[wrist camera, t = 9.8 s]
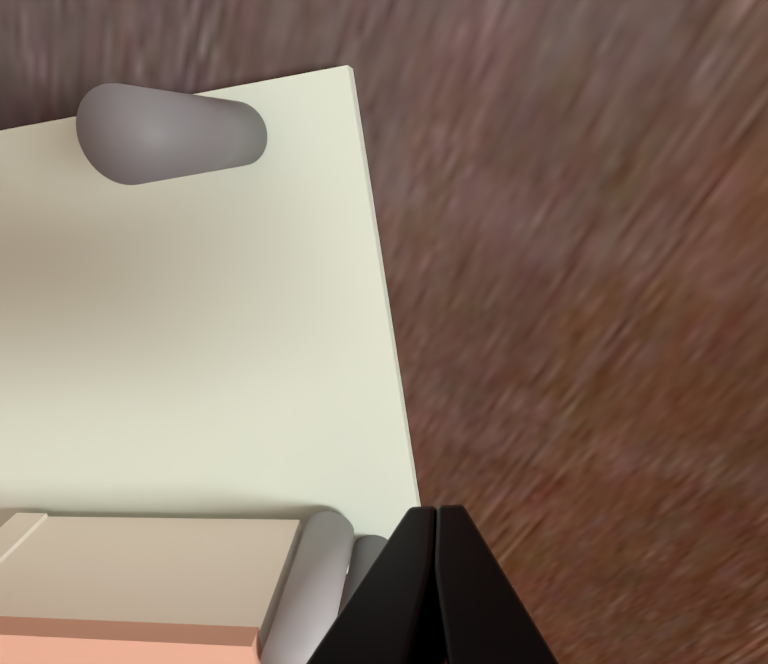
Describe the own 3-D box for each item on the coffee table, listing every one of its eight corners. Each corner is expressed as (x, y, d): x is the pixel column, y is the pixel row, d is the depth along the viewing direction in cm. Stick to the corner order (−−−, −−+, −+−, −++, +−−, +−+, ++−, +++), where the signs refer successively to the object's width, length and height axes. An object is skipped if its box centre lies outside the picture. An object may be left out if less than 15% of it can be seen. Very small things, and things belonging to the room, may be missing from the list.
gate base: (428, 555, 24) (423, 730, 17) (30, 567, 27) (-110, 716, 20) (352, 68, 16) (287, 22, 9) (-187, 169, 20) (-529, 190, 13)
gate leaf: (351, 511, 21) (320, 643, 16) (356, 549, 22) (329, 688, 17) (14, 507, 24) (-117, 623, 18) (30, 542, 24) (-91, 664, 19)
